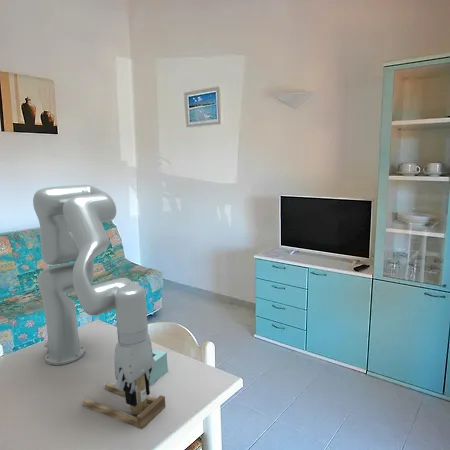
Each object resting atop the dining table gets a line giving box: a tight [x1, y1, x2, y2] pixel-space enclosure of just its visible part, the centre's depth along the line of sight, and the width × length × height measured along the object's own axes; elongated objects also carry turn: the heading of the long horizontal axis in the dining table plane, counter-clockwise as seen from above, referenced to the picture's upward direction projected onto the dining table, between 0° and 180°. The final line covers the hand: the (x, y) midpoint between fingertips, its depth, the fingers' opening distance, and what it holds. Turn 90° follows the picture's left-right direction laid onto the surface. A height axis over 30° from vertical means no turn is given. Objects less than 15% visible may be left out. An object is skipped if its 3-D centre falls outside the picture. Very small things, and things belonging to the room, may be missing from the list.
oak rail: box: [81, 382, 166, 430], centre depth 103 cm, size 21×9×3 cm, turn 62°
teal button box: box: [148, 348, 169, 387], centre depth 117 cm, size 9×9×6 cm
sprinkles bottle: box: [128, 370, 149, 416], centre depth 99 cm, size 5×5×14 cm
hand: (138, 398), depth 100 cm, fingers closed on sprinkles bottle, 4 cm apart
